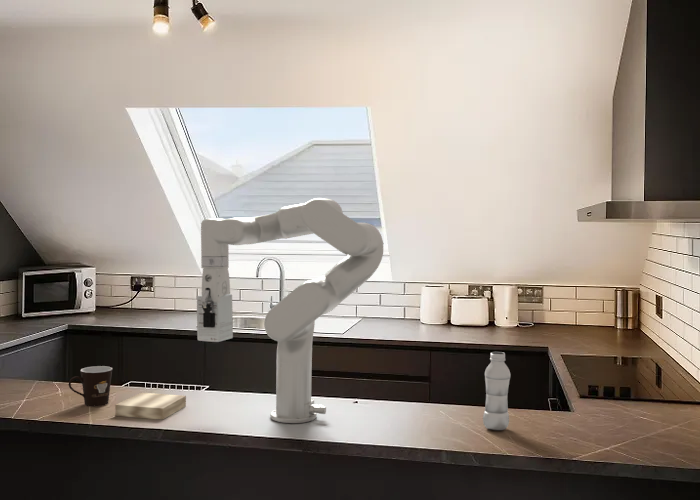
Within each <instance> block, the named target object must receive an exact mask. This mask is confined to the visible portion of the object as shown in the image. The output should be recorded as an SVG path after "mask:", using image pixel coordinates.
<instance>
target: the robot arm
mask: <svg viewBox="0 0 700 500" xmlns="http://www.w3.org/2000/svg"><path fill="white" fill-rule="evenodd" d="M343 212H344V211H343V209H342V207H341V205H340V204H339V203H338V202H337V201H335V200H333V199H330V198H322V197H317V198H313V199H309V200H308V201H307V202H305V203H299V204H292V205H288V206H283V207H281V208H280V209H278V211H276V212H274V213H269V214H265V215H264V214H263V215H260V216H253V217H232V218H231V217H230V218H205V219H203V220H202V221H201V223H200V244H201V245H200V249H201V250H200V252H201V253H200V255H201V256H200V257H201V258H200V262H201V263H200V264H201V266H200V268H201V269H202V275H201V277H202V278H201V295H202V298H201V303H202V308H203V327H211V328H213V327H215V313H213V312H214V302H216V304H218V303H220V297H222V296H224V295H227V294H231V284H230V282H231V280H230V273H229V254H230V253H229V245H230V246H243V245H253V244H260V243H264V242H269V241H270V242H271V241H277V240H281V239H282V240H283V239H285V240H287V239H290V238H297V237H303V236H307V235H316V236H317V237H319V239H321V240H323V241H324V242H325V243H327V244H328V245H330V246H332V247H333V248H334V249H336V250H337V251H338V252H341V253H342V254H344V255H346V256H345V257H344V258H342V260H340V261H339V262H337V263H336V264H335V265H334V266H333V267H332V268H330V270H328V271H327V272H325V273H324V274H322V276H320V277H317V278H314V279H309V280H306V281H304V282H302V283H301V284H300V285H298V286H297V287H295V288H294V289H293V290H292V291H291V292H289V293H288V294H287V295H286V296H285V297H284V298H282V299H280V301H279V302H277V303H276V304H274V306H273V307H272V308H270V310H269V311H267V313H266V316H265V317H264V321H263V322H264V323H263V325H264V331H265V333H266V334H267V336H268V337H269V338H271V340H274V341H275V342H277V345H276V346H277V348H276V372H275V373H276V384H275V386H276V388H275V389H276V390H275V392H276V396H275V403H276V404H275V406H276V407H275V409H273V410H272V411H271V412H270V414H269V415H270V419H271V420H273V421H275V422H278V423H282V424H283V423H284V424H301V423H308V422H311V421H314V420H316V418H317V414H318V415H319V414H320V415H325V414H326V413H327V407H326V406H325V405H323V404H317V403H315V398H313V399H312V370H313V369H312V368H313V367H312V364H313V363H312V362H313V361H312V360H313V359H312V358H313V341H314V339H313V338H314V332H315V325H316V324H315V321H316V320H317V319H319V318H320V317H321V316H323V315H326V314H328V313H330V312H332V311H334V310H335V309H336V307H338V306H339V305H340V304H341V303H342V302H343V301H345V300H346V299H347V298H349V296H350V295H352V294H354V292H355V291H356V290H358V288H360V287H361V286H362V285H363V284H364V283H366V282H367V281H368V280H369V279H370V278H371V277H372V276H373V275H374V274H375V272H376V271H377V269H378V268H379V266H380V264H381V262H382V259H383V255H384V240H383V237H382V234H381V232H380V231H379V229H378V228H377V226H375V225H373V224H370V223H368V222H357V221H355V220H353V219H352V218H350V217H349V216H347V215H345V214H344V213H343ZM209 296H211V298H212V300H213V302H208V298H209ZM210 305H211V307H210Z"/></svg>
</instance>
